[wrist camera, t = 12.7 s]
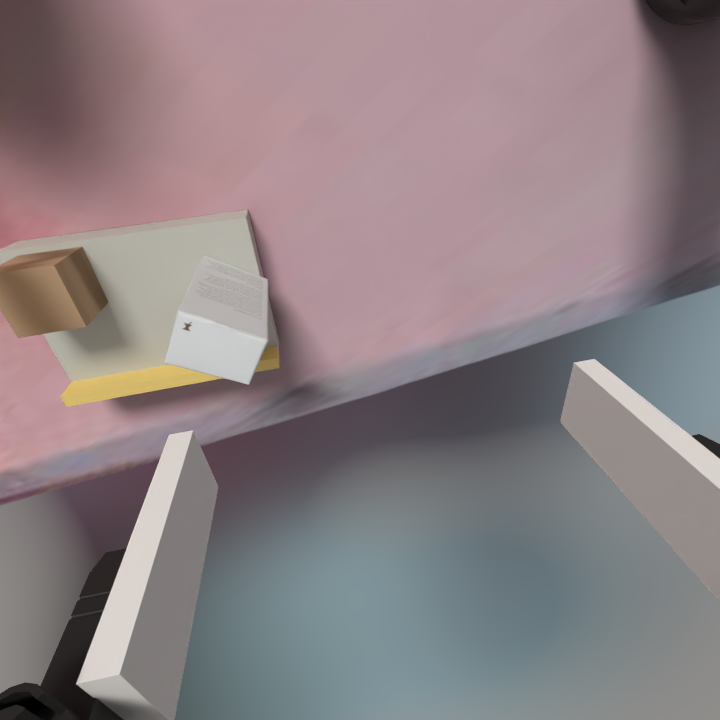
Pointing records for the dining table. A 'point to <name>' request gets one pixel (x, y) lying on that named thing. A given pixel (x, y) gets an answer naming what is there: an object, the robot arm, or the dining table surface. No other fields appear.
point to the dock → (144, 301)
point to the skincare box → (221, 323)
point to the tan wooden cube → (50, 292)
